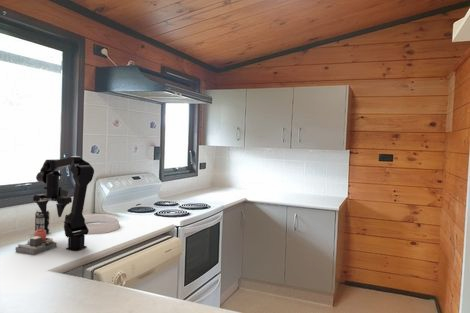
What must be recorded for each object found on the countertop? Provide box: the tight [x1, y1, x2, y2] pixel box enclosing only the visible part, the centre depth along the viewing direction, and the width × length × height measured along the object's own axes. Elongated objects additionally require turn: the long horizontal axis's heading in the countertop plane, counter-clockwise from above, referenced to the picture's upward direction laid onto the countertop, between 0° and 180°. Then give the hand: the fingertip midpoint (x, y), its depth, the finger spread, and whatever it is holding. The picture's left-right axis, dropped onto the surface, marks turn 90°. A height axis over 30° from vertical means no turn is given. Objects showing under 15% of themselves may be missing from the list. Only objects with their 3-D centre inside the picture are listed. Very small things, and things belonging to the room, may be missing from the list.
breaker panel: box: [15, 237, 58, 256], centre depth 164 cm, size 10×13×4 cm
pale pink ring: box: [75, 213, 120, 235], centre depth 206 cm, size 27×27×6 cm
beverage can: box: [34, 209, 50, 234], centre depth 190 cm, size 7×7×12 cm
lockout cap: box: [34, 229, 47, 241], centre depth 167 cm, size 5×5×6 cm
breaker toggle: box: [29, 236, 42, 247], centre depth 160 cm, size 3×4×4 cm
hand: (52, 216), depth 178 cm, fingers open, 9 cm apart
